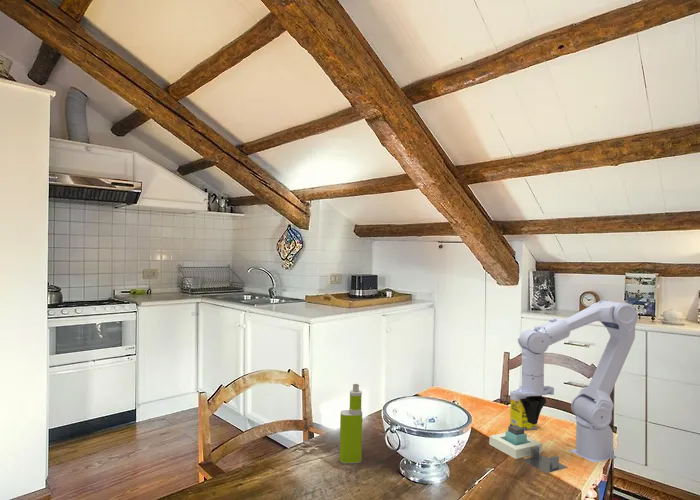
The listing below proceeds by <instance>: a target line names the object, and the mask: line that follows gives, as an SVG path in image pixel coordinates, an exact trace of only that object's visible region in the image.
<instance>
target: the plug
mask: <svg viewBox="0 0 700 500" xmlns="http://www.w3.org/2000/svg"><path fill="white" fill-rule="evenodd" d="M505 433H506V441H508V442H509V443H511V444H513V445H515V446H517V445H521V444H526V443H527V437H528V434H527V433H525V431H524V428H521V427H519V426H517V425H514V426H510V425H509V426H508V429H507V430H506V431H505Z"/></svg>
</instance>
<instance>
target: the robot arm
mask: <svg viewBox="0 0 700 500" xmlns="http://www.w3.org/2000/svg"><path fill="white" fill-rule="evenodd" d="M639 318H640V316H639V315H638V312H637V311H636V309H635V307H634V306H633V305H632V304H630V303H627V302H620V301H619V302H618V301H613V300H612V301H611V300H608V299H601V300H600V301H598V302H593V303H592V304H591V305H589V306H588V307H585V308H583V310H580V311H578V312H577V313H575V314H572V315H571V316H568V317H566V318H564V319H561V318H559V317H557V318H554V317H552V318H549V320H548V322H546V323H543V324H542V325H536V326H534V329H531V328H530V329H529V328H527V329H525V330H523V331H522V332H521V333H520V335H519V338H517V343H518V345H519V347H520V348H521V385H519V388H517V389H515V390H513V391H510V394H509V395H510V396H509V397H510V400H511V399H512V400H515V401H518V399H520V401H521V403H522V405H523V407H524V409H525V413H526V416H527V420H528V422H529V423H531V424H537V425H538V421H539V417H540V415H541V411H542V409H543V408H544V406H545V405H546V403H547V398H546V397H544V396H547V395H551V396H553V395H555V388H554V387H553V386H549V385H546V386H545V352H546V351H548V349H549V347H550V346H552V345H553V344H556V343H559V342H560V341H563V340H564V339H567V338H569V337H570V334H571V331H575V330H577V329H579V328H582V327H584V326H587V325H589V324H592V323H595V322H600V323H601V324H602V325H603V327H605V328H606V330H607V332H608V334H609V339H608V342H607V343H606V345H605V349H604V350H603V353H602V355H601V357H600V360H599V361H598V364H597V366H596V368H595V370H594V373H593V376H592V378H591V380H590V382H589V384H588V386H585V387H584V388H581V389H580V391H579V393H578V394H577V395H576V396H575V397H574V398H573V399H572V401H571V405H570V408H571V411H572V413H573V414H574V415H575V425H576V426H575V427H576V428H575V429H576V432H575V434H576V435H575V444H576V445H575V448H573V449H569V450H568V451H569V452H570V453H572V454H574V455H576V456H578V457H580V458H583V459H585V460H587V461H589V462H591V463H599V462H603V461H606V460H609V459H613V460H615V459H617V456H616V454H615V455H614V432H613V430H612V427H611V426H610V424H611V423H612V420H613V410H614V407H615V405H614V403H613V400H612V398H611V393H612V391H613V389H614V387H615V385H616V383H617V380H618V379H619V376H620V373H621V371H622V369H623V366H624V364H625V362H626V360H627V357H628V355H629V353H630V351H631V349H632V346H633V344H634V341H635V340H636V339H635V338H636V325H637V322H638V320H639Z"/></svg>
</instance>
